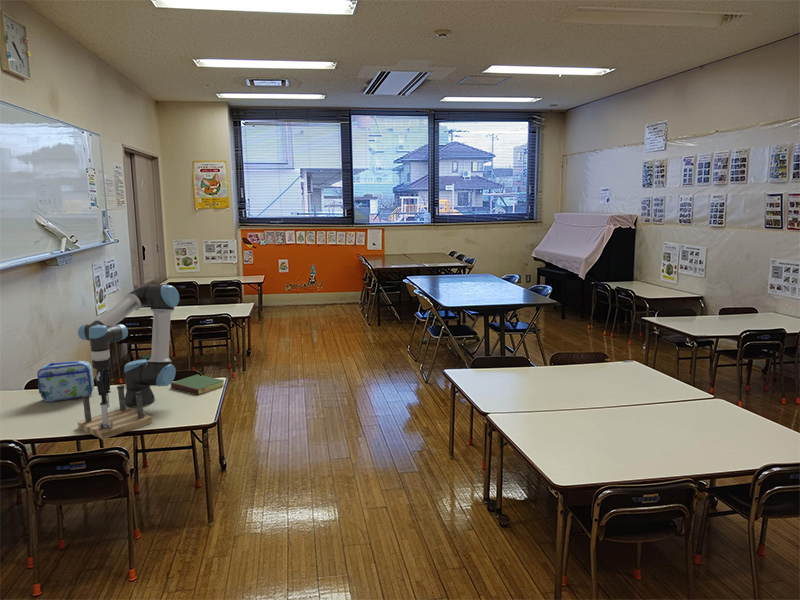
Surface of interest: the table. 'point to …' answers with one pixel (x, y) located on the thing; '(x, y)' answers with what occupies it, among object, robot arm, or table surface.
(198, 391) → the hardcover book
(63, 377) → the lunch box
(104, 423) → the hinged leg
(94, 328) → the robot arm
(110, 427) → the stool top
